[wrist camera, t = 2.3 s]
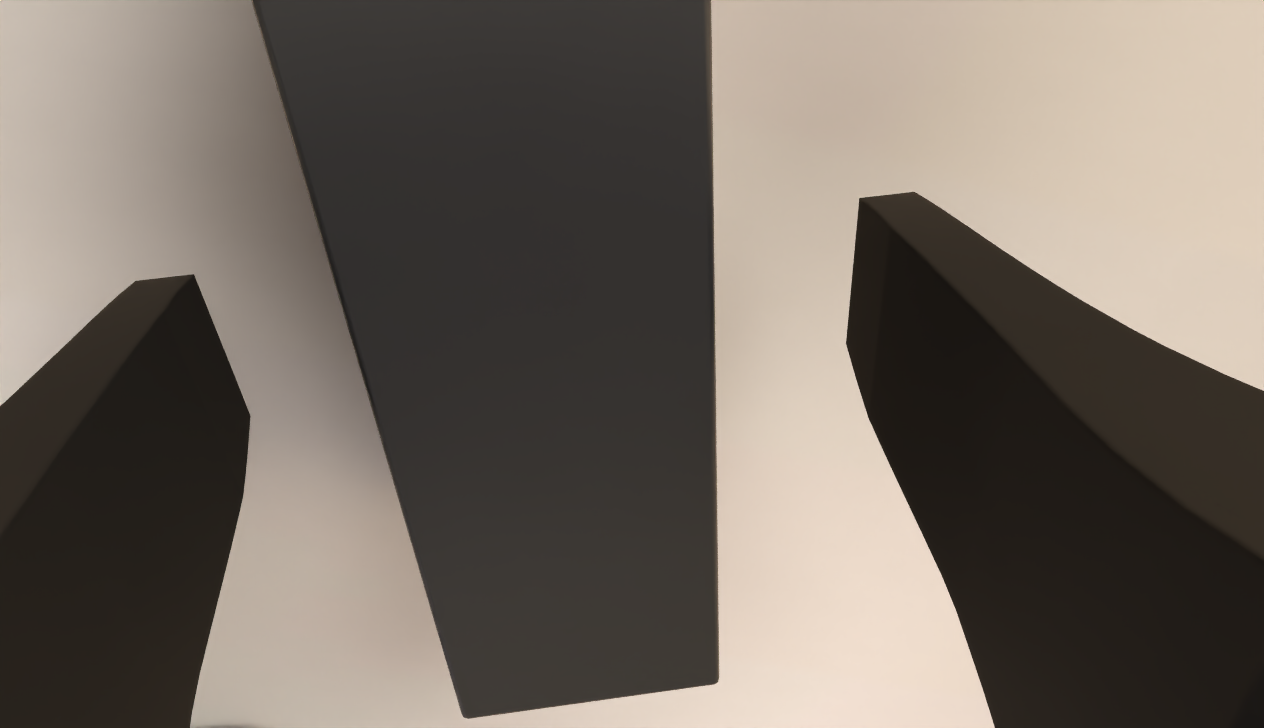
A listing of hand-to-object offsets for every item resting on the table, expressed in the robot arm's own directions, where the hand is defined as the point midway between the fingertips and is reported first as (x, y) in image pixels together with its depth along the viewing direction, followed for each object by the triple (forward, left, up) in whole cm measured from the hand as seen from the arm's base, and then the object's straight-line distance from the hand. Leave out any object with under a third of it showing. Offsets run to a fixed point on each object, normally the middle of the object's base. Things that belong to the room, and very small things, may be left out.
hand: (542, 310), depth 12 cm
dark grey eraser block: (0, 0, -3) cm, 3 cm away
